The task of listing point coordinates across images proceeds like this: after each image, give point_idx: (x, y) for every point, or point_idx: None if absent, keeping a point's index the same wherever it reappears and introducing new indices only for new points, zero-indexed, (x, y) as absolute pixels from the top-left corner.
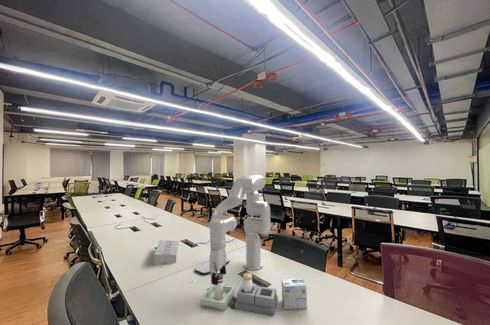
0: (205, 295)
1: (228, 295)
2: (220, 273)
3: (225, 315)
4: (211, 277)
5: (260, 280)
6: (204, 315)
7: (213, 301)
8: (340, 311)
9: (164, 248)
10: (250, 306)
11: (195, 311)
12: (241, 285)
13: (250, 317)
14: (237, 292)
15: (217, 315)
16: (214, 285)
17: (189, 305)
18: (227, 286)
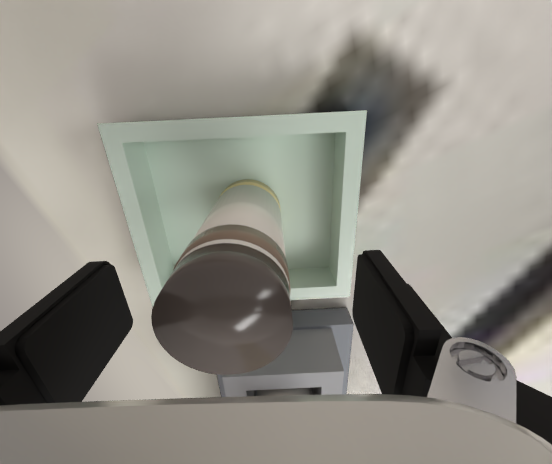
0: (159, 137)
1: None
2: (276, 331)
3: (143, 295)
4: (21, 321)
5: (495, 345)
6: (76, 194)
7: (132, 236)
8: None
9: None
10: (222, 390)
11: (67, 113)
12: (321, 373)
13: (187, 380)
14: (230, 379)
15: (121, 261)
16: (201, 226)
17: (88, 11)
18: (341, 250)
